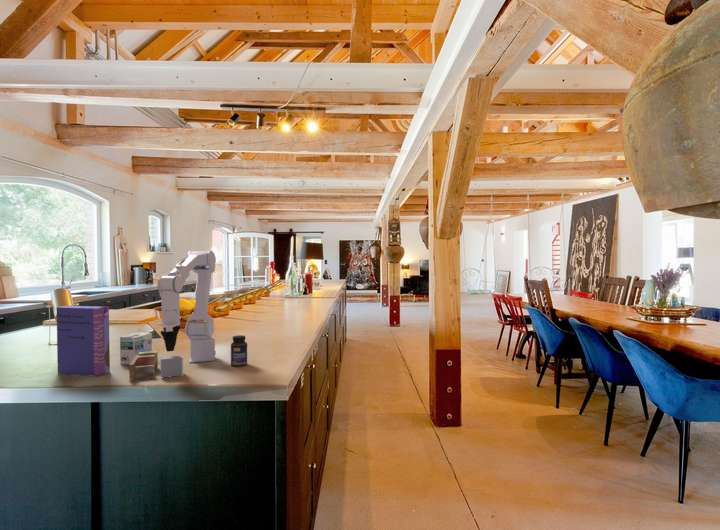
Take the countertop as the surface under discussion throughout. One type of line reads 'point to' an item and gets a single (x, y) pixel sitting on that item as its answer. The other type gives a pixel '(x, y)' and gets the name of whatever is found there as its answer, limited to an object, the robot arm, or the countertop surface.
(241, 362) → the pill bottle
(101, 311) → the cereal box
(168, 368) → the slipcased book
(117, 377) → the countertop surface
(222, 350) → the countertop surface
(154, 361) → the shelf
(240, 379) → the countertop surface
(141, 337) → the light bulb box
